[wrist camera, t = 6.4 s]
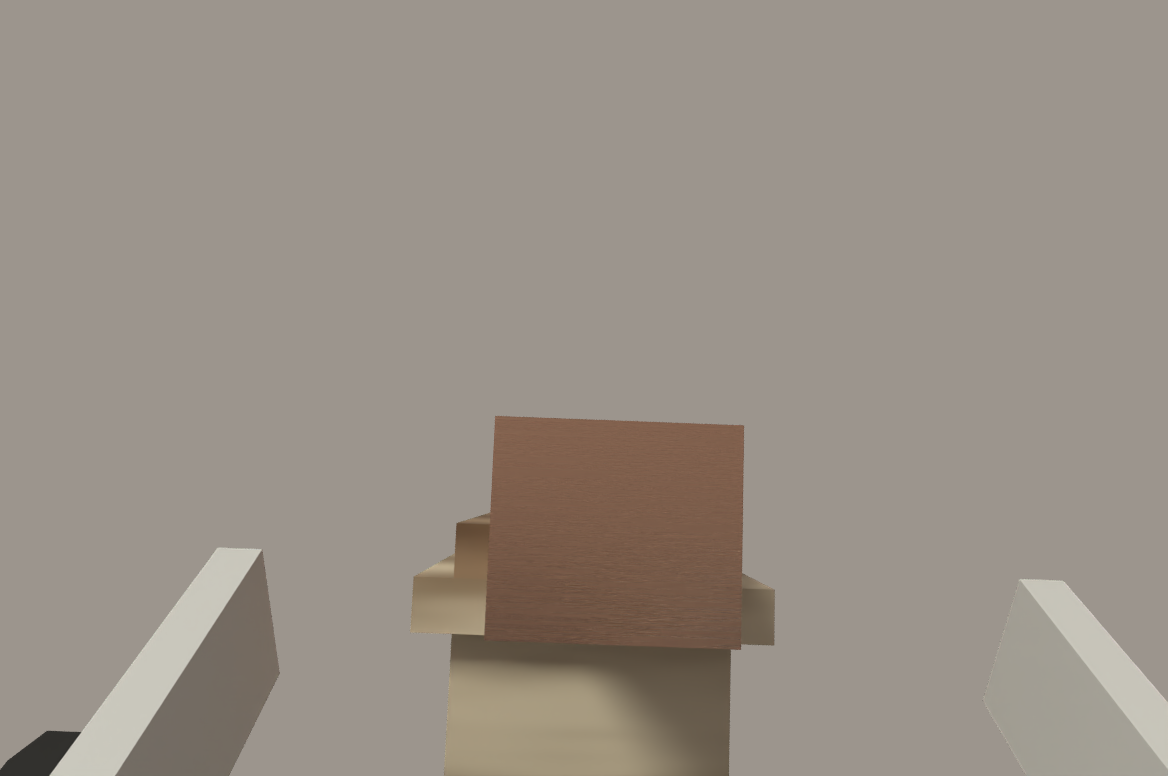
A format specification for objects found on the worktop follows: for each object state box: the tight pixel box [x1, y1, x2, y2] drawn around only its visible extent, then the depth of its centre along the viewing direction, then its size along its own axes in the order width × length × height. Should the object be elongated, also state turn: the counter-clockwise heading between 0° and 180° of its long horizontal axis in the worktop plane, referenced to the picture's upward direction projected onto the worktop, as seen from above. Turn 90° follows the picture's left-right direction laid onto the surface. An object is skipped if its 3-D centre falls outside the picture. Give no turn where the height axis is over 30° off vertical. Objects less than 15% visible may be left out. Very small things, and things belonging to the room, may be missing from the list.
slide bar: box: [484, 416, 744, 650], centre depth 23 cm, size 20×4×4 cm, turn 1°
